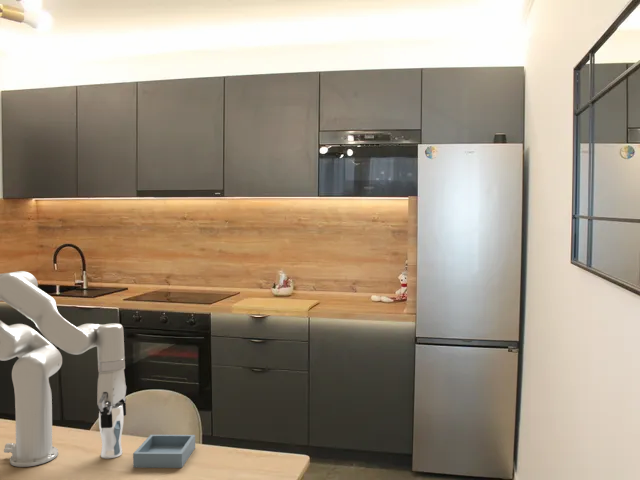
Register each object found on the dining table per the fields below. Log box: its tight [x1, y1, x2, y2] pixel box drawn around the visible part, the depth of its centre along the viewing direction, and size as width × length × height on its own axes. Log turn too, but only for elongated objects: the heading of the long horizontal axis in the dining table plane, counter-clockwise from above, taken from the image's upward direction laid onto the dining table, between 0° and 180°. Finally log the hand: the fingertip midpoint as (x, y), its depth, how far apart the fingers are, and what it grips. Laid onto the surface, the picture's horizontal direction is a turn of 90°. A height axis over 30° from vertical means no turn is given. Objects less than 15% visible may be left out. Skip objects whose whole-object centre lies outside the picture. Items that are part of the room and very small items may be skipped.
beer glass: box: [98, 402, 125, 460], centre depth 157 cm, size 7×7×15 cm
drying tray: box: [132, 434, 196, 469], centre depth 155 cm, size 14×14×4 cm
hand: (114, 421), depth 157 cm, fingers open, 9 cm apart
